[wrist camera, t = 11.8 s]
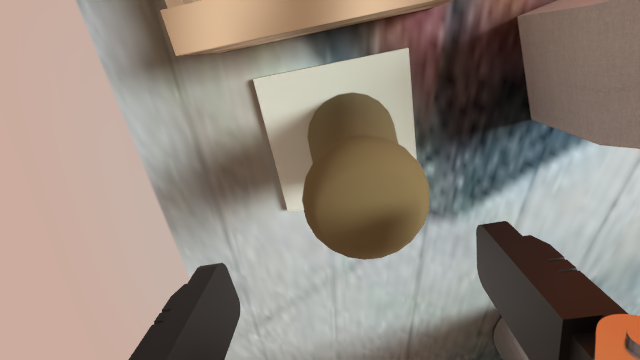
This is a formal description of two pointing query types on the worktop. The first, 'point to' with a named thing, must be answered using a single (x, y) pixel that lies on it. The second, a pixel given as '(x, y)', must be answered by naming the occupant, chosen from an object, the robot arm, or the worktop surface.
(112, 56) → the worktop surface
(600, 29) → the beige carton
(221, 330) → the robot arm
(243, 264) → the worktop surface
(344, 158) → the cork
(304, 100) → the cream mat
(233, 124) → the worktop surface
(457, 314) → the worktop surface
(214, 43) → the open rectangular wooden frame
